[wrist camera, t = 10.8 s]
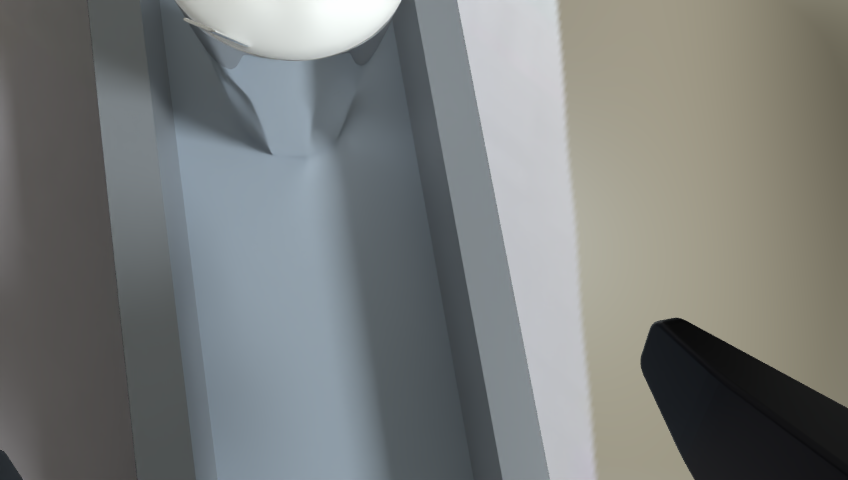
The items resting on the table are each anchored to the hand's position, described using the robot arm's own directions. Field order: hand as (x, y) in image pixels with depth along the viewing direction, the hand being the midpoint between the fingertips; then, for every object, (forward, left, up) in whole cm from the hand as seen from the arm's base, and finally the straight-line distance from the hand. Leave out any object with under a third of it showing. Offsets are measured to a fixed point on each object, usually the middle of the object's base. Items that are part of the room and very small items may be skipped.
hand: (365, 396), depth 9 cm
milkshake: (+8, 0, -9) cm, 12 cm away
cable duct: (+6, 0, -10) cm, 12 cm away
